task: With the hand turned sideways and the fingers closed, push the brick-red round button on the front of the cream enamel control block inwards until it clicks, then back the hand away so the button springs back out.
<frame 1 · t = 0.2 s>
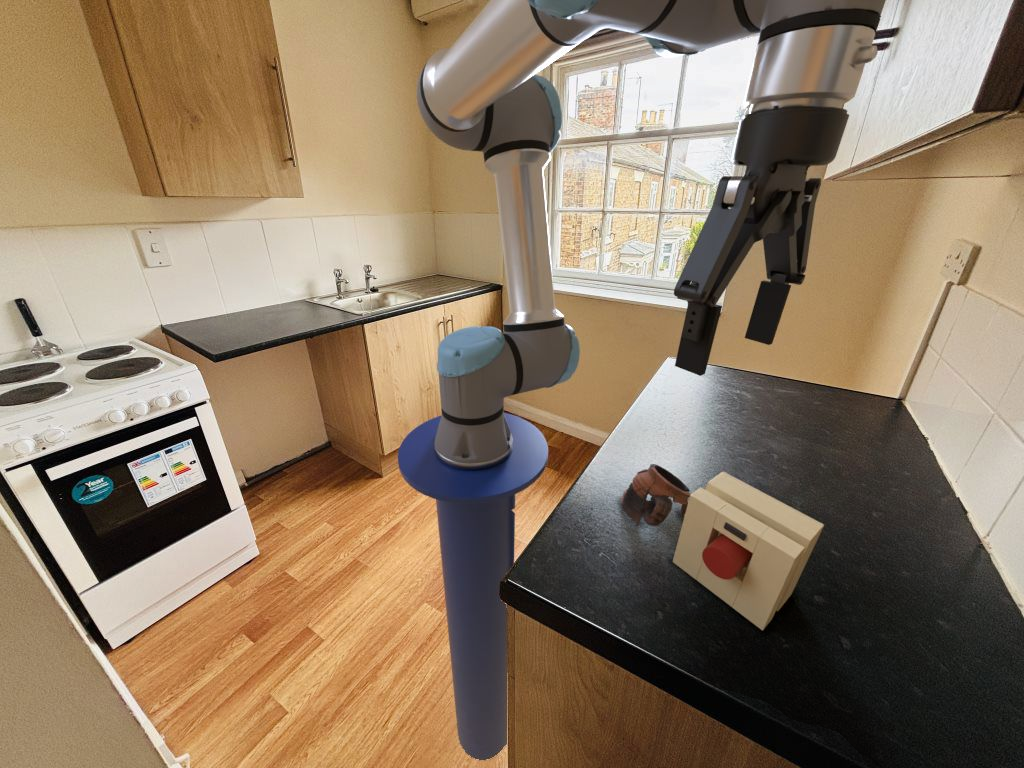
hand: (726, 354, 42), 31 cm above the worktop, tool pointing down, fingers open, 13 cm apart
control block: (729, 577, 54), on the worktop
pottery mug: (652, 514, 64), on the worktop
button: (726, 554, 48), point 7 cm above the worktop, slide at -0.1 cm
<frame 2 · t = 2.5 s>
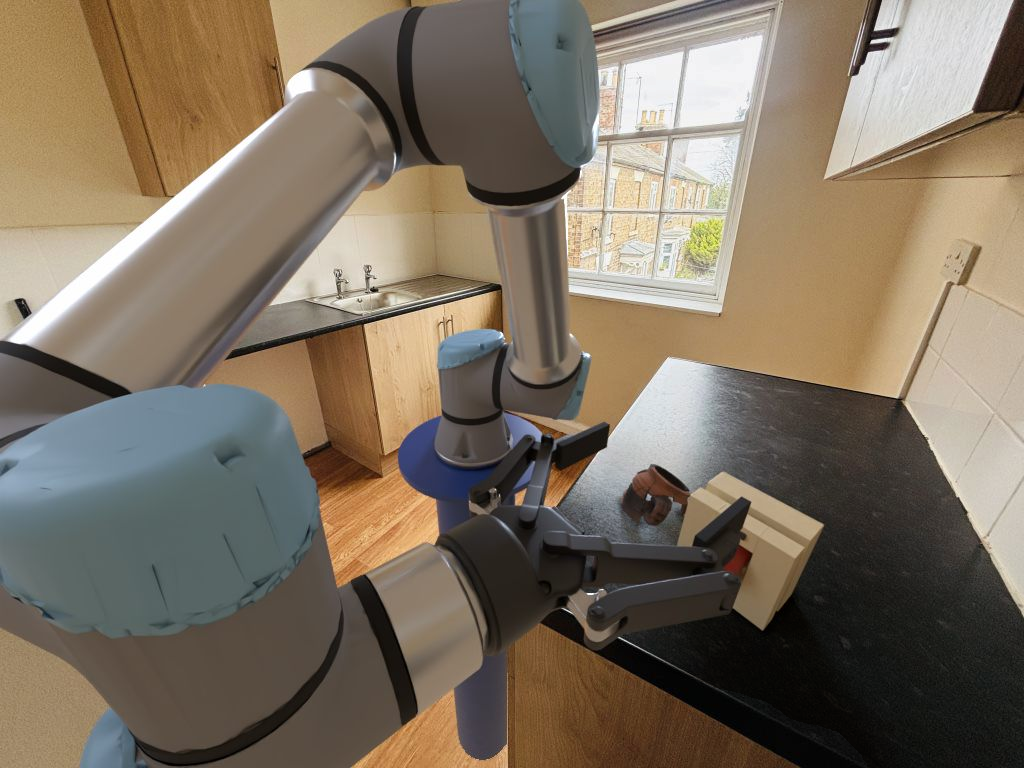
hand: (664, 468, 36), 24 cm above the worktop, tool horizontal, fingers open, 13 cm apart
nothing on the worktop moved.
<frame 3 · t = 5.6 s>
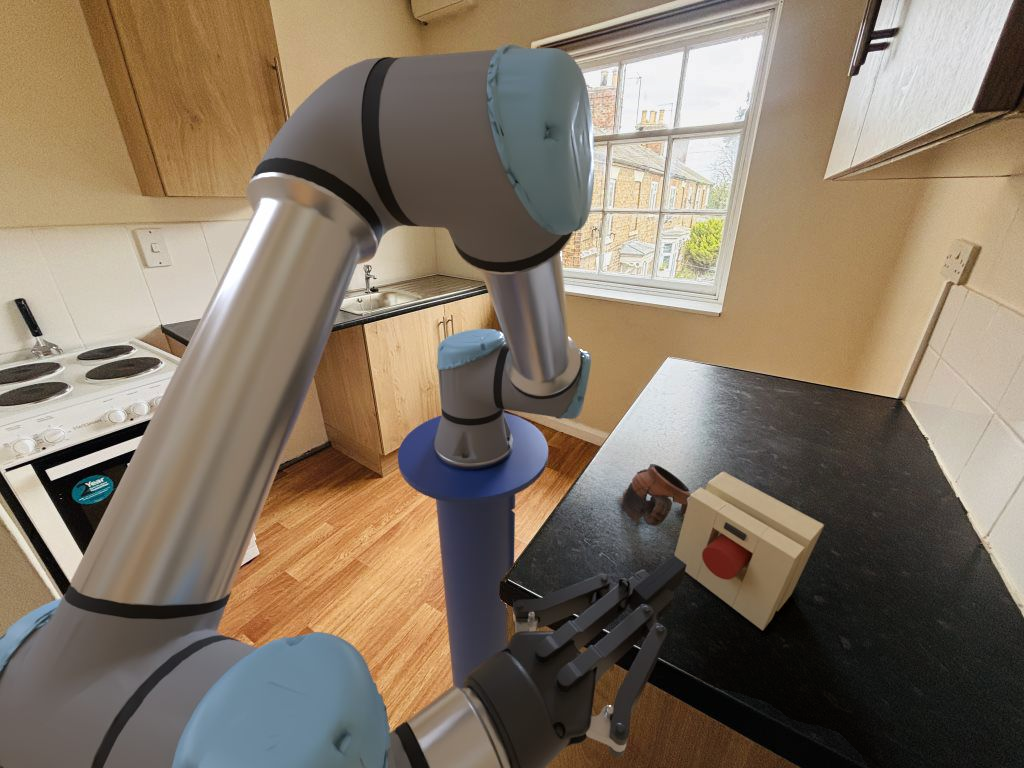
hand: (677, 569, 41), 12 cm above the worktop, tool horizontal, fingers closed
nothing on the worktop moved.
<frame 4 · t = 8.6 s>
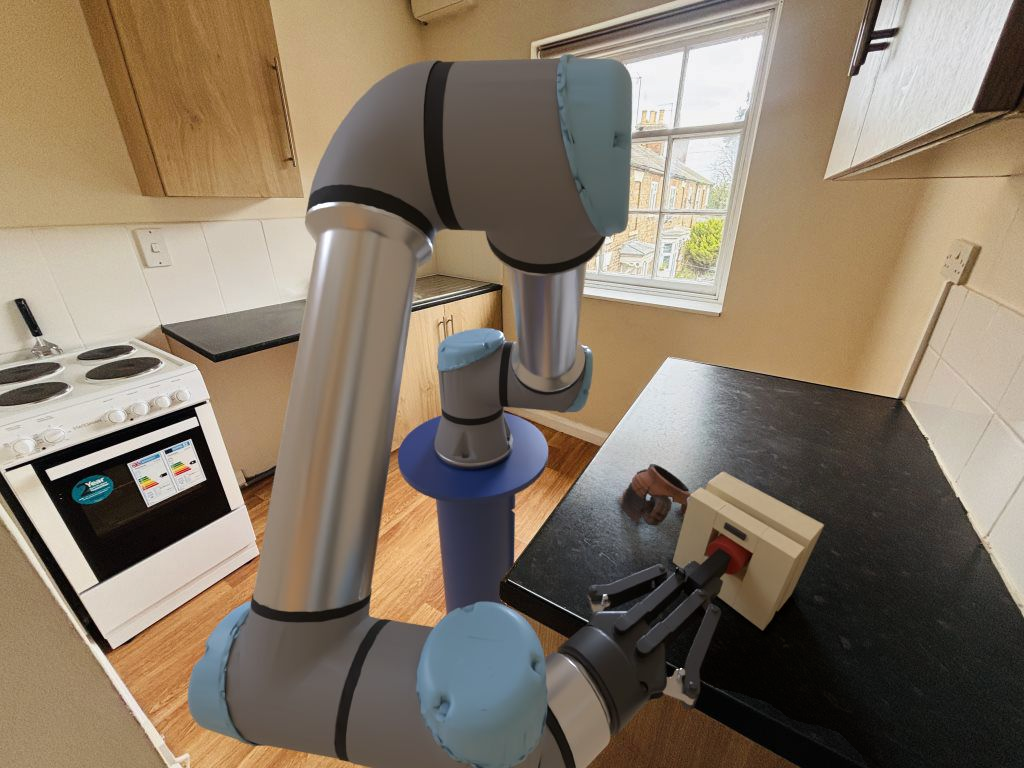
hand: (722, 560, 48), 7 cm above the worktop, tool horizontal, fingers closed
button: (731, 550, 49), point 7 cm above the worktop, slide at 1.1 cm, touching gripper
everything else where it was.
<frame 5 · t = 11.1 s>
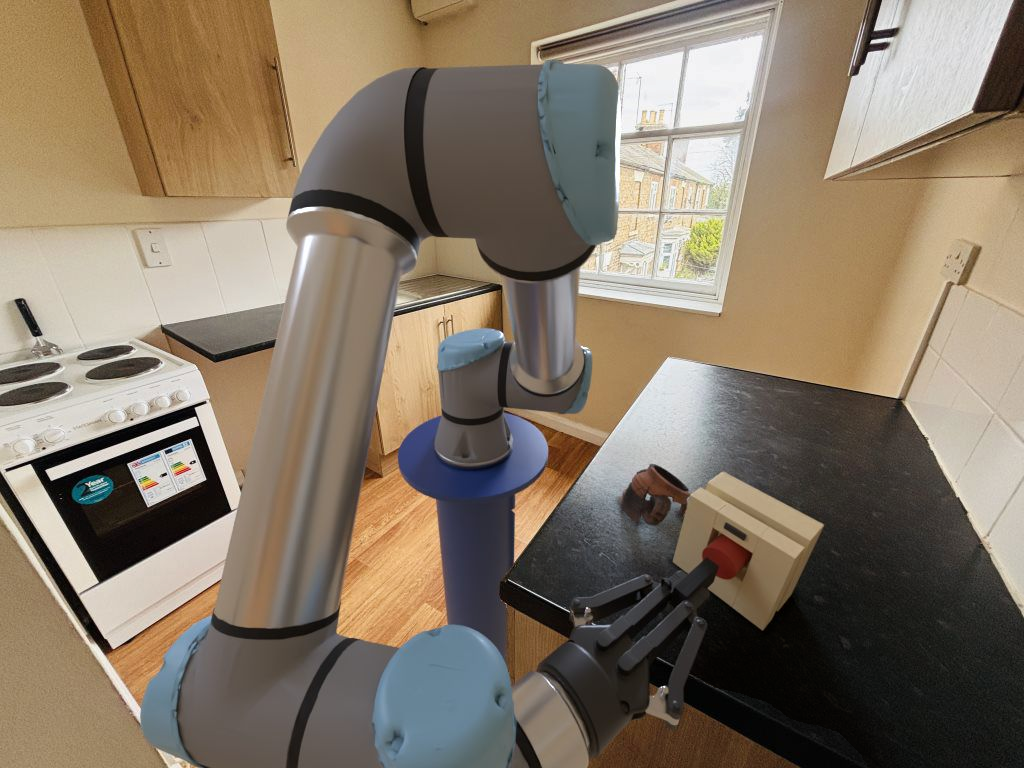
hand: (710, 569, 46), 7 cm above the worktop, tool horizontal, fingers closed
button: (726, 555, 48), point 7 cm above the worktop, slide at -0.1 cm
everything else where it was.
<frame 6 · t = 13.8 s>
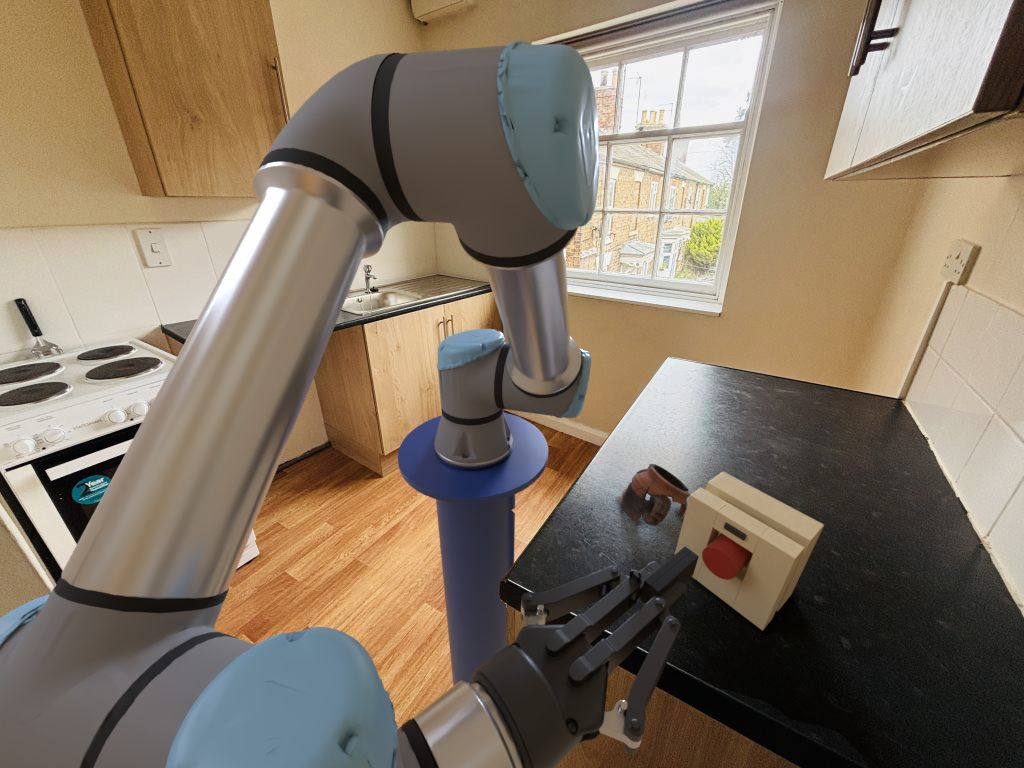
hand: (689, 560, 40), 13 cm above the worktop, tool horizontal, fingers closed
nothing on the worktop moved.
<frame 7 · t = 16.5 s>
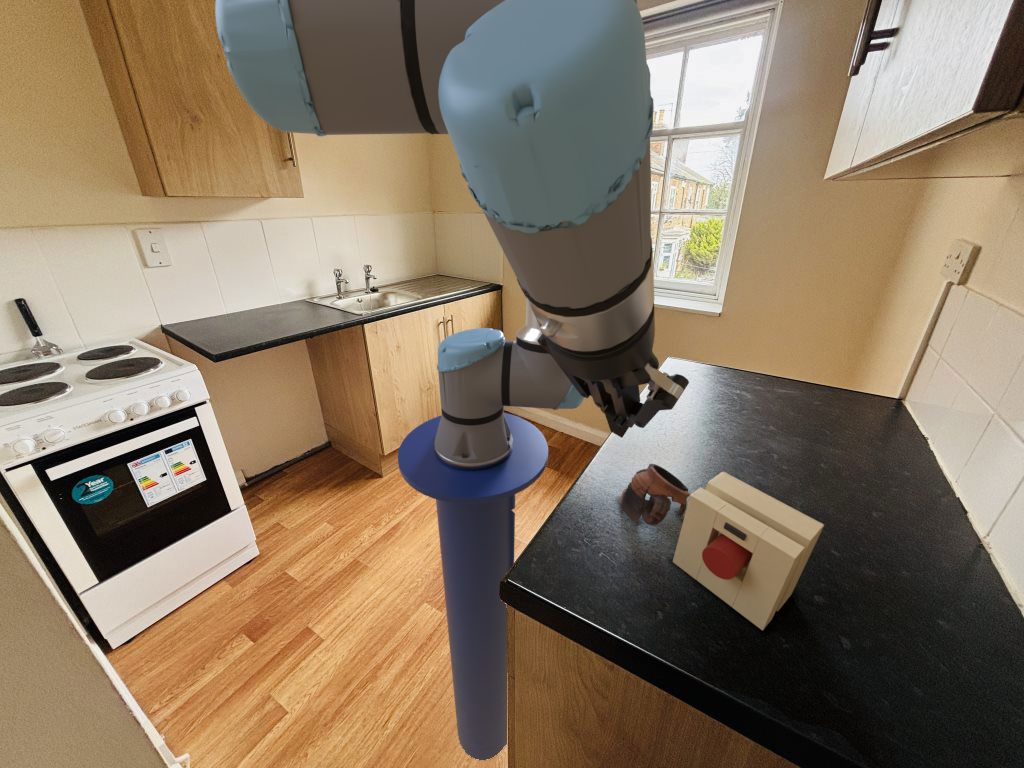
hand: (622, 425, 46), 22 cm above the worktop, tool tilted 40°, fingers closed
nothing on the worktop moved.
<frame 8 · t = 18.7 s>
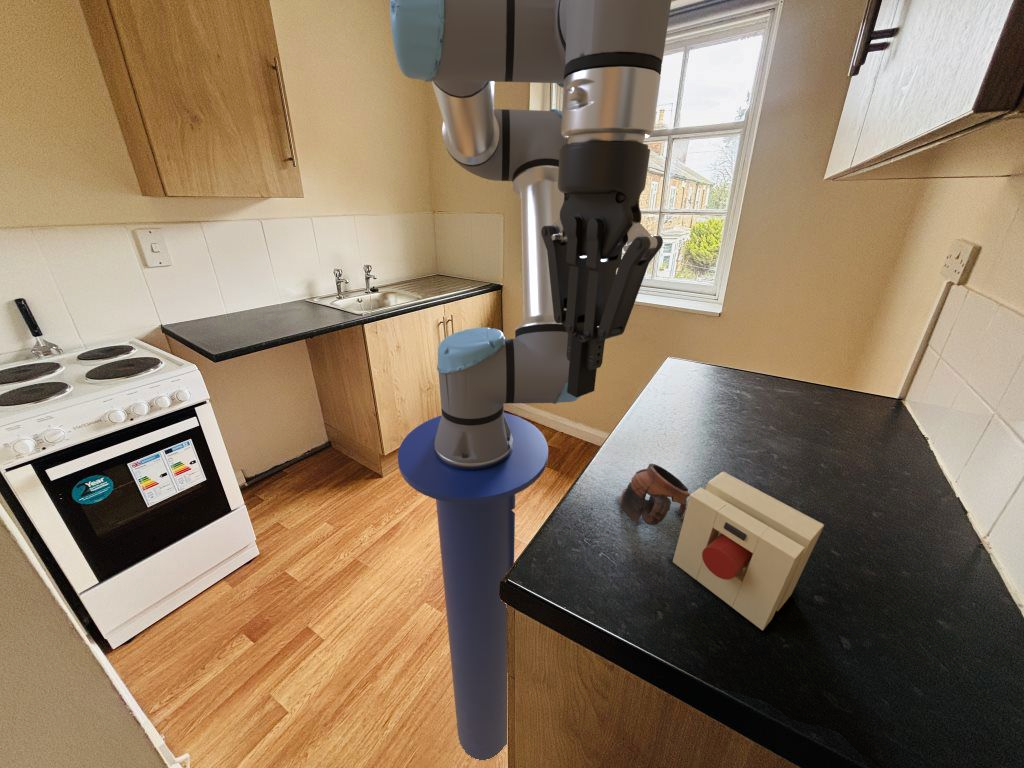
hand: (580, 391, 44), 26 cm above the worktop, tool pointing down, fingers closed
nothing on the worktop moved.
at the end: button pulled out 2.0 cm at the most during the clip, back to where it started at the end; button slide at -0.1 cm; pottery mug moved 0.3 cm from its start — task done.
